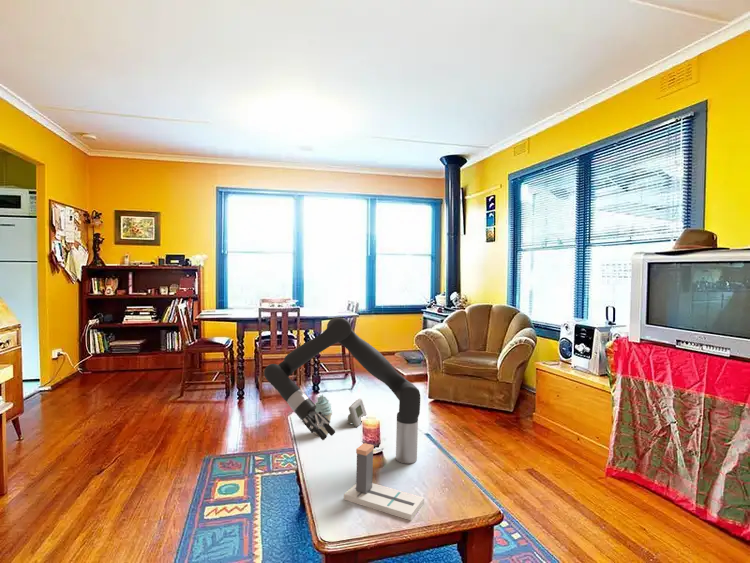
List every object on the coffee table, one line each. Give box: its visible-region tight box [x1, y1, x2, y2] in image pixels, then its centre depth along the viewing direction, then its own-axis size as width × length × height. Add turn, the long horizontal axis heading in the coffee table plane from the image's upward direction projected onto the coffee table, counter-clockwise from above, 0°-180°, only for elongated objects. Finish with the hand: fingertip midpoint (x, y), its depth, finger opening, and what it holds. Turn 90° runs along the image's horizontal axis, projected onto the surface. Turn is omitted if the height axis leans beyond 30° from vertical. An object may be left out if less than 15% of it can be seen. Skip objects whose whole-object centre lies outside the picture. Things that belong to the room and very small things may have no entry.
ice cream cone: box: [314, 394, 333, 436], centre depth 213 cm, size 10×11×20 cm
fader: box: [355, 442, 375, 494], centre depth 157 cm, size 6×4×16 cm, turn 153°
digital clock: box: [347, 398, 368, 428], centre depth 230 cm, size 16×9×11 cm, turn 151°
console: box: [343, 482, 425, 521], centre depth 153 cm, size 12×26×2 cm, turn 63°
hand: (329, 436), depth 161 cm, fingers open, 8 cm apart
